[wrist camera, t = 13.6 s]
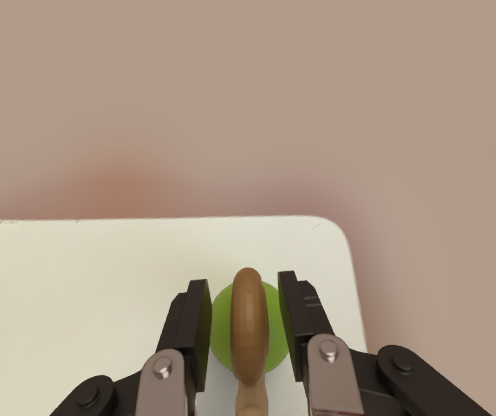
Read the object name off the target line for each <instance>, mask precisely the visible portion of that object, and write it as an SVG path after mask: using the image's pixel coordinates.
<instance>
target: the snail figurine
mask: <svg viewBox="0 0 496 416" xmlns="http://www.w3.org/2000/svg"><path fill="white" fill-rule="evenodd" d="M210 347H211V349H212V352H213V353H214V355H215V357H216V358H217V359H218V360H219V362H220V363H221V364H222V365H223V366H225V367H226V368H227V369H229V370H230V371H232V372H233V374H234V376H235V377H236V378H237V379H238V380H239V385H238V392H237V397H236V416H268V398H267V393H266V388H265V380H264V373H267V372H269V371H271V370H272V369H274V368H275V367H277V366H278V365H279V364H280V363H281V362H282V361H283V359H284V358H285V357H286V355H287V354H288V352H289V349H288V344H287V340H286V335H285V330H284V326H283V321H282V316H281V312H280V305H279V293H278V290H277V289H276V288H274V287H273V286H271V285H270V284H268V283H265V282H263V281H261V277H260V274H259V273H258V272H257V271H256V270H255V269H253V268H243V269H241V270H240V271H239V272H238V273H237V274H236V276H235V278H234V281H233V284H231V285H229V286H228V287H226V288H225V289H224V290H223V291H221V292H220V294H219V295H218V296H217V297H216V299H215V300H214V302H213V304H212V326H211V335H210Z"/></svg>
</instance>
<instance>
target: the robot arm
mask: <svg viewBox="0 0 496 416" xmlns="http://www.w3.org/2000/svg"><path fill="white" fill-rule="evenodd" d="M278 293H279V305H280V312H281V316H282V321H283V326H284V330H285V335H286V340H287V344H288V349H289V353H290V358H291V363H292V367H293V372H294V376H295V381H296V382H302V381H303V385H304V389H305V393H306V397H307V406H308V416H492V415H490V414H489V413H488V412H487V411H485V410H484V409H483V408H482V407H480V406H479V405H478V404H477V403H476V402H474V401H473V400H472V399H471V398H469V397H468V396H467V395H466V394H464V393H463V392H462V391H461V390H460V389H458V388H457V387H456V386H455V385H453V384H452V383H451V382H450V381H448V380H447V379H446V378H445V377H444V376H442V375H441V374H440V373H439V372H437V371H436V370H435V369H434V368H433V367H431V366H430V365H429V364H428V363H426V362H425V361H424V360H423V359H421V358H420V357H419V356H418V355H417V354H415V353H414V352H412V351H410V350H409V349H407V348H404V347H401V346H397V345H388V346H385V347H382V348H381V349H380V350H379V351H378V354H377V355H374V354H368V353H363V352H359V351H355V350H352V349H350V348H348V346H347V344H346V343H345V342H344V341H343V340H342V339H340V338H339V337H337V336H335V334H334V332H333V329H332V327H331V325H330V322H329V320H328V318H327V316H326V313H325V311H324V309H323V306H322V305H321V302H320V299H319V298H318V295H317V292H316V290H315V288H314V287H313V286H312V285H311V284H310V283H309V282H308V281H307V280H306V281H297V278H296V275H295V272H294V271H293V270H292V271H282V272H278ZM211 326H212V304H211V298H210V292H209V287H208V281H207V279H202V280H191V281H190V283H189V286H188V290H187V292H186V293H179V294H178V295H177V296H176V297H175V299H174V300H173V301H172V303H171V306H170V309H169V313H168V315H167V318H166V321H165V324H164V327H163V330H162V333H161V336H160V340H159V343H158V346H157V349H156V352H155V354H154V355H153V356H151V357H150V358H149V359H148V360H147V361H146V363H145V364H144V366H143V368H142V369H141V370H140V371H138V372H137V373H135V374H133V375H131V376H128V377H126V378H123V379H121V380H118V381H116V382H113V381H112V379H111V378H110V377H108V376H105V375H99V376H94V377H91V378H89V379H87V380H85V381H84V382H82V383H81V384H79V385H78V386H77V387H76V388H75V389H74V390H73V391H72V392H71V393H70V394H69V395H68V396H67V397H66V398H65V399H64V401H63V402H62V403H61V404H60V405H59V406H58V407H57V408H56V409H55V410H54V411H53V412H52V413H51V414H50V416H197V410H196V406H195V397H196V393H197V392H204V389H205V380H206V371H207V362H208V353H209V344H210V335H211Z"/></svg>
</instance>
